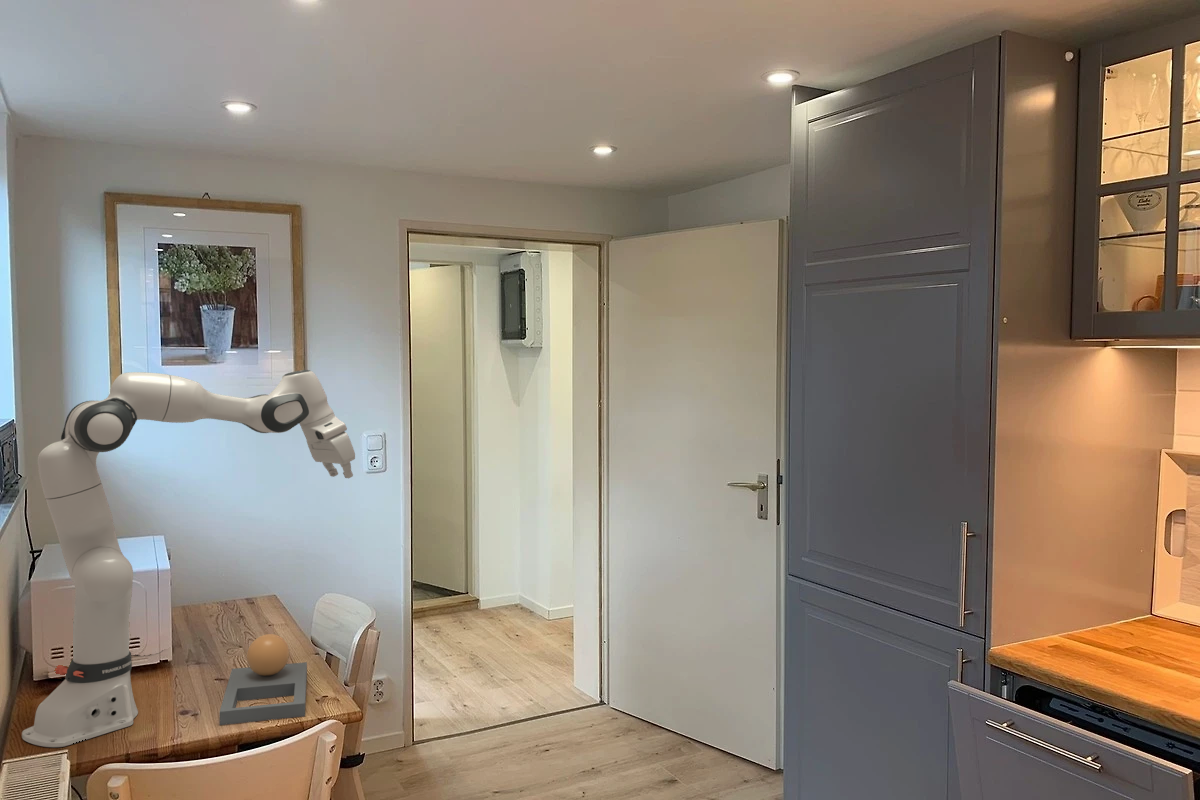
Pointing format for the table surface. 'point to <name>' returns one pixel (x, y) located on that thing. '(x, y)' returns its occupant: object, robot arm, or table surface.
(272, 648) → the ball
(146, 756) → the table surface
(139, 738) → the table surface
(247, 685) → the deck
